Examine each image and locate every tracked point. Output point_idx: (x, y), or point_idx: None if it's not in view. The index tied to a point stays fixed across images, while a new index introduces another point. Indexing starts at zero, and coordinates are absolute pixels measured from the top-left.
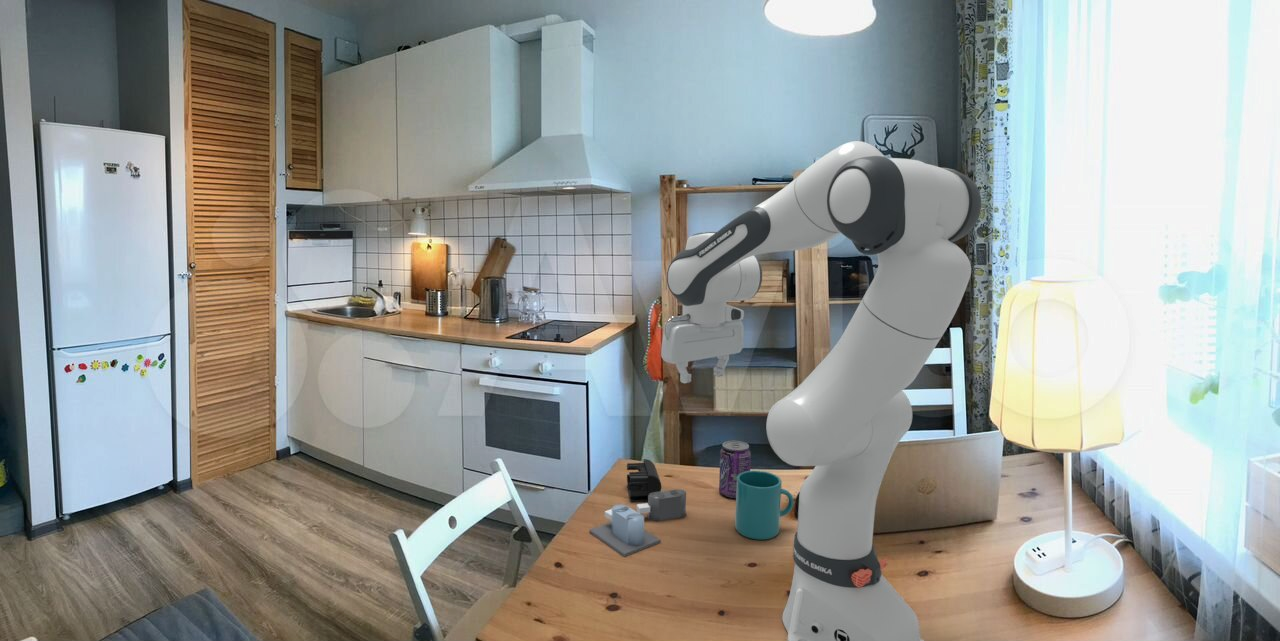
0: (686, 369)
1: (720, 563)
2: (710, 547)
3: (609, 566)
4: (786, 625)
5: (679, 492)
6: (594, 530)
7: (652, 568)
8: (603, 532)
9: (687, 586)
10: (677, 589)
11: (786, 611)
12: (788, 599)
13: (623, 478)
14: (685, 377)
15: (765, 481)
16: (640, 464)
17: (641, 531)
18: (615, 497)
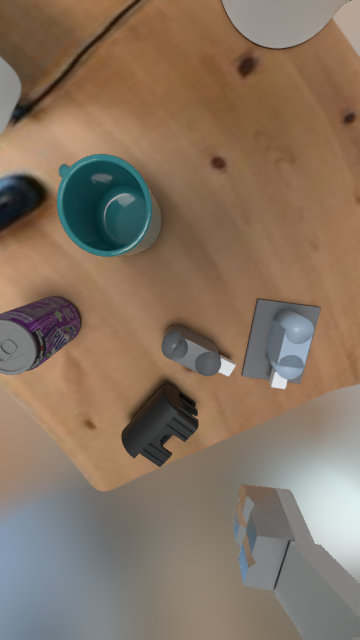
0: (347, 601)
1: (246, 200)
2: (220, 239)
3: (348, 304)
4: (335, 10)
5: (172, 346)
6: (297, 377)
7: (318, 260)
8: None
9: (325, 196)
10: (339, 201)
11: (326, 12)
12: (321, 6)
13: (146, 459)
14: (304, 527)
15: (73, 219)
16: (148, 450)
17: (294, 313)
18: (199, 426)
